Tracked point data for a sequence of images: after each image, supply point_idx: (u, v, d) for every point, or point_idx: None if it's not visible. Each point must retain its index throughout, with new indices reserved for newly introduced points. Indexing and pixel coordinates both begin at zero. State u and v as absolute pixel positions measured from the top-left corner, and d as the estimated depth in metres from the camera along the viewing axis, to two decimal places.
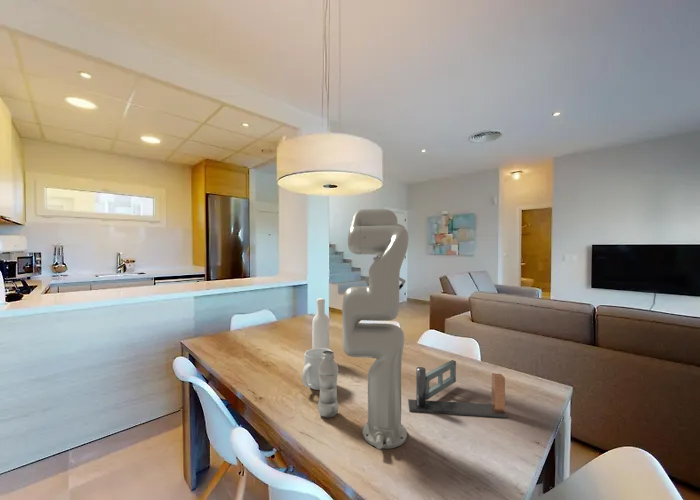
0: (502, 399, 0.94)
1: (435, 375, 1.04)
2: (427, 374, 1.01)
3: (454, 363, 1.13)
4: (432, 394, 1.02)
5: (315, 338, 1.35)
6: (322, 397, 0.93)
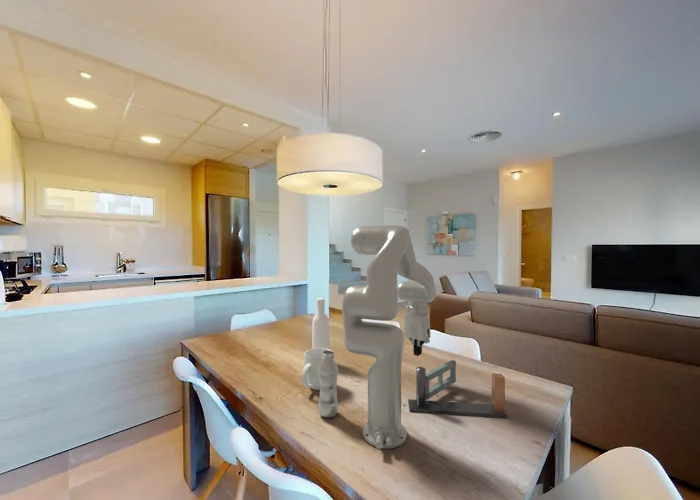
0: (502, 399, 0.94)
1: (435, 375, 1.04)
2: (427, 374, 1.01)
3: (454, 363, 1.13)
4: (432, 394, 1.02)
5: (315, 338, 1.35)
6: (322, 397, 0.93)
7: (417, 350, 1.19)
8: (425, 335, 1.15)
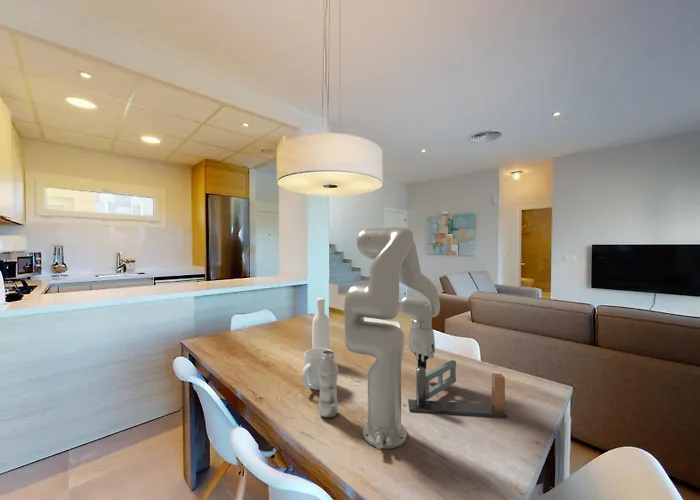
0: (502, 399, 0.94)
1: (435, 375, 1.04)
2: (427, 374, 1.01)
3: (454, 363, 1.13)
4: (432, 394, 1.02)
5: (315, 338, 1.35)
6: (322, 397, 0.93)
7: (421, 365, 1.17)
8: (429, 350, 1.14)
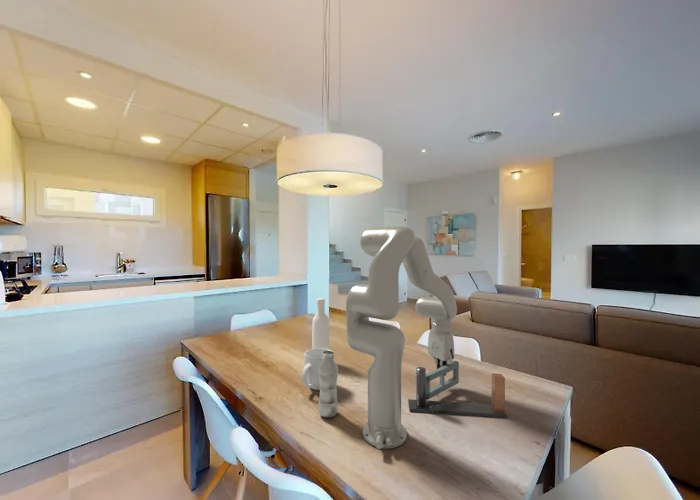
0: (502, 399, 0.94)
1: (436, 375, 1.03)
2: (428, 374, 1.01)
3: (457, 364, 1.12)
4: (433, 394, 1.02)
5: (315, 338, 1.35)
6: (322, 397, 0.93)
7: None
8: (447, 355, 1.08)
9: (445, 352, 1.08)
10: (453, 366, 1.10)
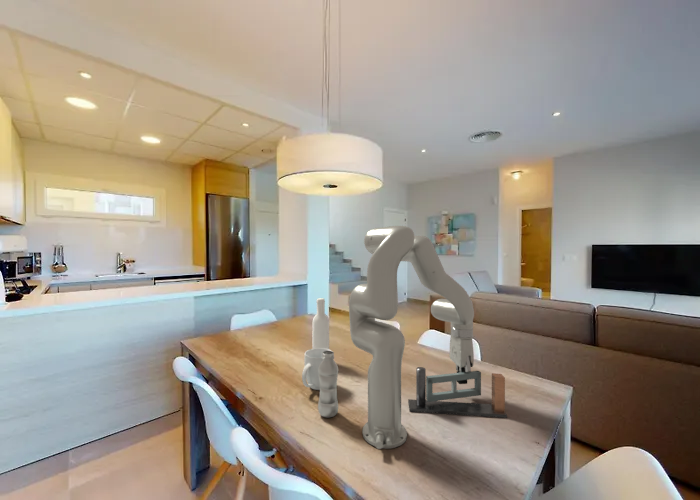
0: (502, 399, 0.94)
1: (443, 380, 1.00)
2: (431, 376, 1.00)
3: (478, 374, 1.03)
4: (438, 398, 1.00)
5: (315, 338, 1.35)
6: (322, 397, 0.93)
7: None
8: (463, 362, 1.01)
9: (461, 358, 1.02)
10: (471, 375, 1.02)
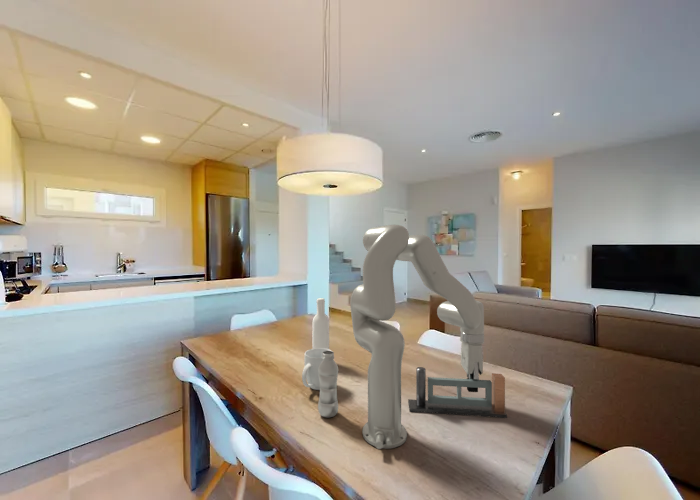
0: (502, 399, 0.94)
1: (445, 383, 0.97)
2: (432, 378, 0.98)
3: (488, 384, 0.96)
4: (439, 401, 0.97)
5: (315, 338, 1.35)
6: (322, 397, 0.93)
7: None
8: (470, 368, 0.96)
9: (468, 364, 0.96)
10: (479, 384, 0.96)
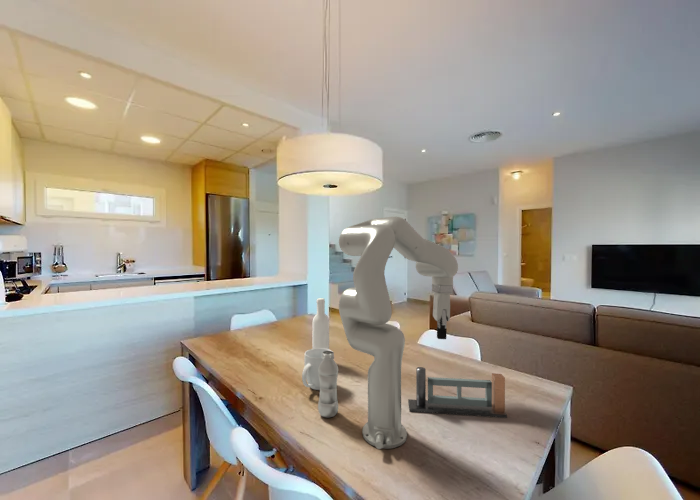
0: (502, 399, 0.94)
1: (445, 383, 0.97)
2: (432, 378, 0.98)
3: (488, 384, 0.96)
4: (439, 401, 0.97)
5: (315, 338, 1.35)
6: (322, 397, 0.93)
7: (438, 332, 1.10)
8: (438, 315, 1.06)
9: (437, 311, 1.06)
10: (479, 384, 0.96)
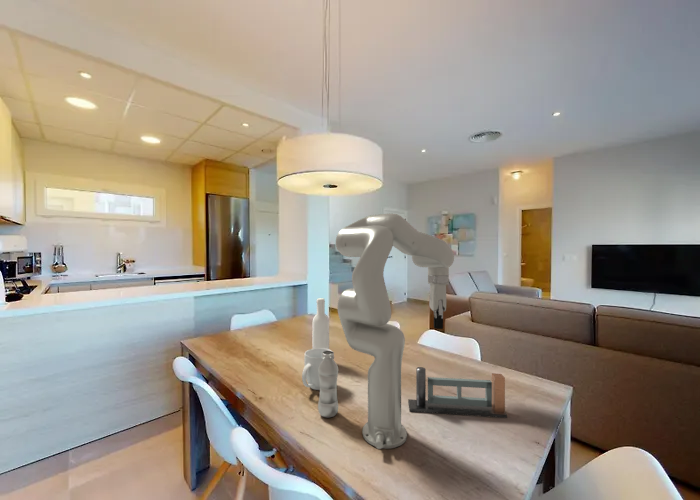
0: (502, 399, 0.94)
1: (445, 383, 0.97)
2: (432, 378, 0.98)
3: (488, 384, 0.96)
4: (439, 401, 0.97)
5: (315, 338, 1.35)
6: (322, 397, 0.93)
7: (435, 322, 1.11)
8: (435, 305, 1.07)
9: (433, 302, 1.07)
10: (479, 384, 0.96)
